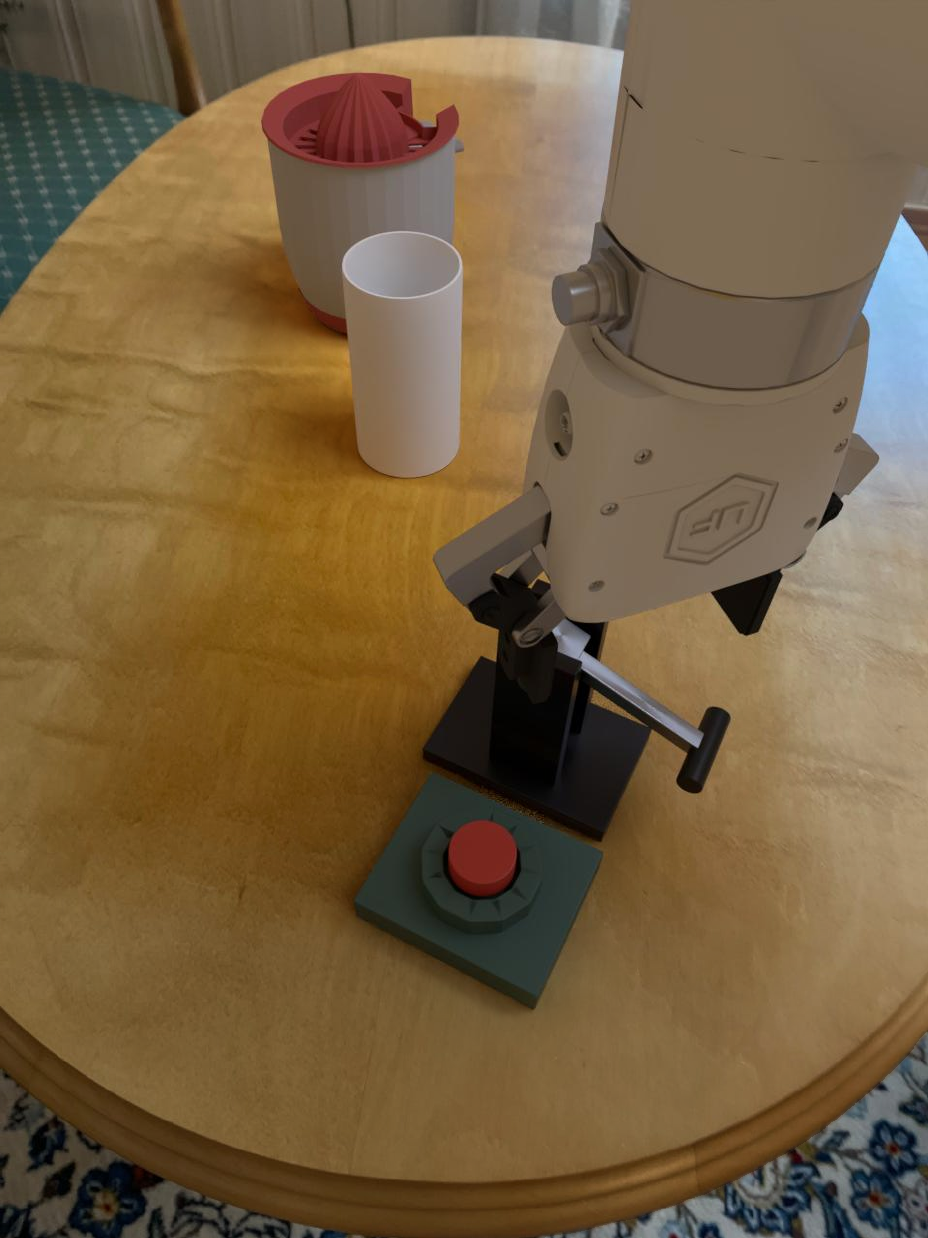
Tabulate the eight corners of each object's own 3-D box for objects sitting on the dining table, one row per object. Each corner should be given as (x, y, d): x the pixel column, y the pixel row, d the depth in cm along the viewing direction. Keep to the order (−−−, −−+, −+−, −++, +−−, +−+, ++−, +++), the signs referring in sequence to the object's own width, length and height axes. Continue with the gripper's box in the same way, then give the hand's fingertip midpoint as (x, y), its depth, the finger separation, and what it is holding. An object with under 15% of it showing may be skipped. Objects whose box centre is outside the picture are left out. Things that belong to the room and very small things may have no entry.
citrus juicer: (505, 303, 90) (519, 76, 75) (352, 377, 83) (332, 143, 68) (403, 231, 98) (395, 10, 82) (254, 293, 91) (215, 65, 75)
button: (526, 851, 53) (528, 838, 52) (496, 908, 51) (498, 895, 50) (467, 823, 54) (467, 809, 53) (436, 878, 52) (436, 864, 51)
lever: (717, 729, 55) (741, 714, 53) (687, 799, 52) (712, 786, 50) (541, 608, 55) (559, 588, 53) (502, 673, 52) (519, 654, 50)
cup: (337, 437, 79) (317, 257, 66) (416, 396, 82) (412, 217, 69) (399, 493, 75) (390, 314, 62) (480, 447, 78) (487, 269, 65)
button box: (599, 867, 56) (608, 837, 53) (534, 1010, 51) (540, 986, 48) (432, 788, 59) (431, 755, 56) (355, 916, 54) (350, 887, 51)
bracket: (649, 739, 62) (689, 614, 52) (601, 842, 57) (635, 728, 47) (480, 666, 65) (487, 535, 55) (422, 759, 60) (418, 635, 50)
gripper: (492, 434, 23) (472, 780, 37) (1062, 294, 27) (855, 651, 41) (392, 266, 27) (407, 631, 41) (898, 166, 32) (760, 528, 45)
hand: (631, 641), depth 41 cm, fingers open, 9 cm apart
